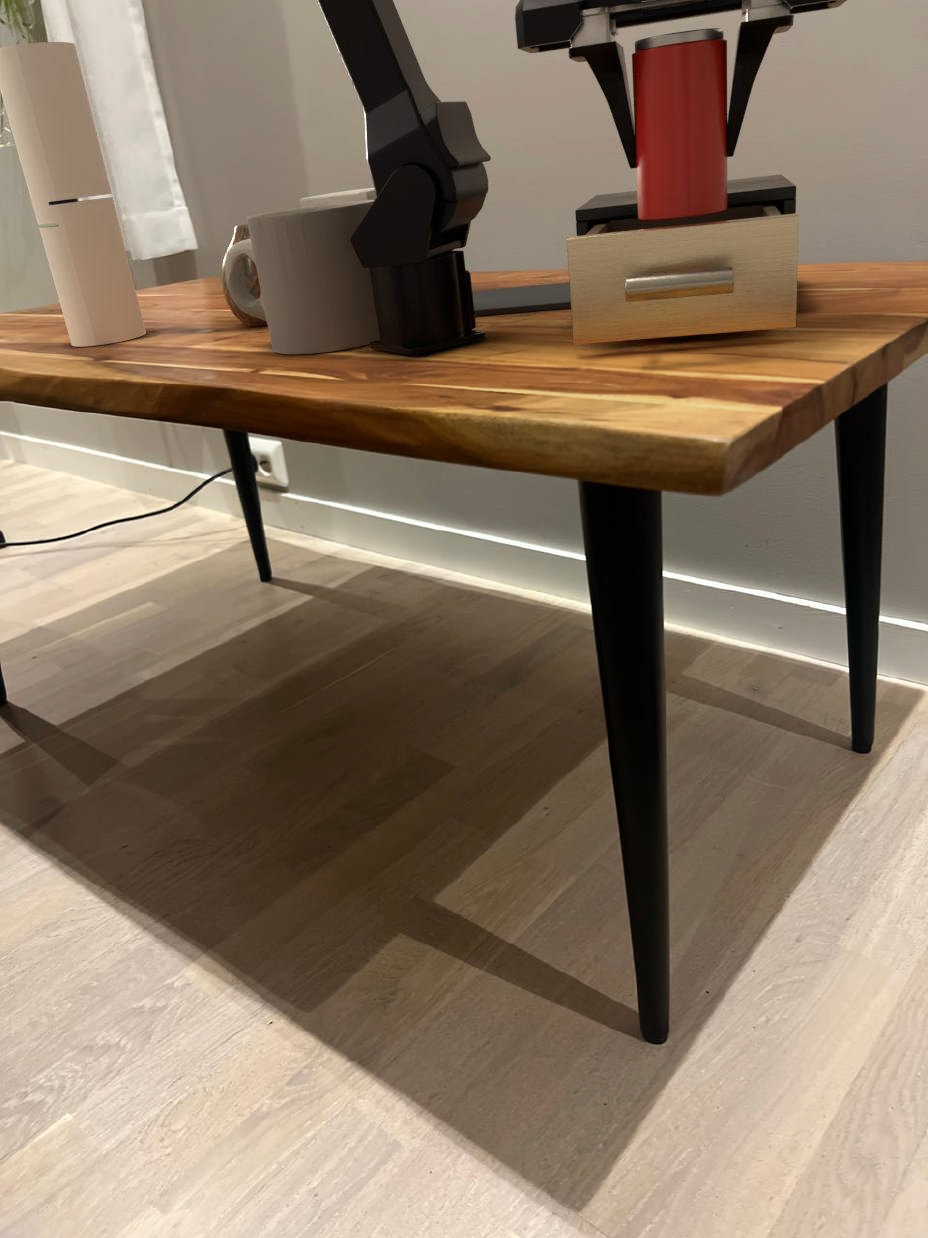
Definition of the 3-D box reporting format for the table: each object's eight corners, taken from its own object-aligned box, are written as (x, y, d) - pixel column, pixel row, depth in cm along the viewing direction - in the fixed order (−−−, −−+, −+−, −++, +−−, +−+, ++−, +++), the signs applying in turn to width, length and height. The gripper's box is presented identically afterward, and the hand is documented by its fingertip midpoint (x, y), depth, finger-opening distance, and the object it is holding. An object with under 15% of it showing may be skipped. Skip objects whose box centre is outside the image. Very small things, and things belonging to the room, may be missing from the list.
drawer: (801, 341, 56) (805, 221, 53) (565, 358, 59) (557, 246, 56) (781, 292, 71) (783, 197, 68) (594, 308, 74) (589, 218, 72)
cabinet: (793, 312, 69) (796, 185, 65) (582, 329, 72) (574, 209, 69) (779, 281, 81) (781, 173, 78) (601, 297, 85) (595, 195, 81)
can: (684, 219, 60) (680, 29, 56) (620, 220, 64) (611, 44, 60) (746, 206, 63) (747, 25, 59) (680, 209, 67) (676, 39, 63)
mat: (575, 307, 81) (575, 301, 81) (435, 319, 84) (434, 313, 84) (590, 285, 92) (590, 279, 92) (465, 296, 95) (464, 291, 95)
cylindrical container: (132, 341, 94) (56, 38, 83) (60, 349, 95) (-26, 50, 84) (155, 328, 100) (87, 46, 90) (87, 336, 101) (11, 56, 90)
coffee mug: (417, 327, 82) (399, 196, 77) (346, 353, 74) (322, 210, 70) (292, 330, 88) (269, 209, 84) (215, 355, 81) (186, 224, 77)
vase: (264, 329, 91) (244, 227, 87) (215, 329, 95) (194, 231, 91) (317, 315, 95) (300, 217, 92) (269, 315, 99) (251, 221, 96)
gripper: (484, -142, 51) (513, 187, 58) (873, -220, 46) (855, 147, 53) (520, -101, 61) (541, 177, 67) (844, -163, 56) (832, 142, 63)
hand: (680, 162), depth 62 cm, fingers closed on can, 5 cm apart
